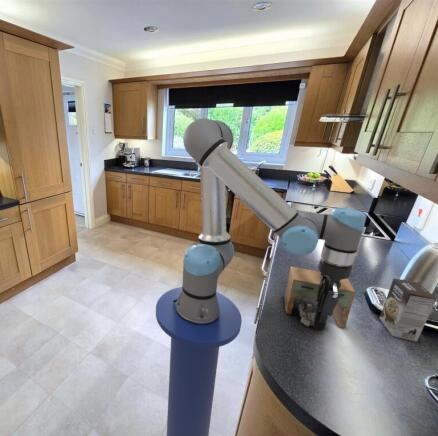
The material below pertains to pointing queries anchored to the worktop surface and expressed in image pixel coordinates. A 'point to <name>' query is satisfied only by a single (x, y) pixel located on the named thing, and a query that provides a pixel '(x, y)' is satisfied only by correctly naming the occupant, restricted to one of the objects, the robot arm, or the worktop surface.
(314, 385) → the worktop surface
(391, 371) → the worktop surface
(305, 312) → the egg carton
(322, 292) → the robot arm
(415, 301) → the coffee box
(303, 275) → the drawer unit
